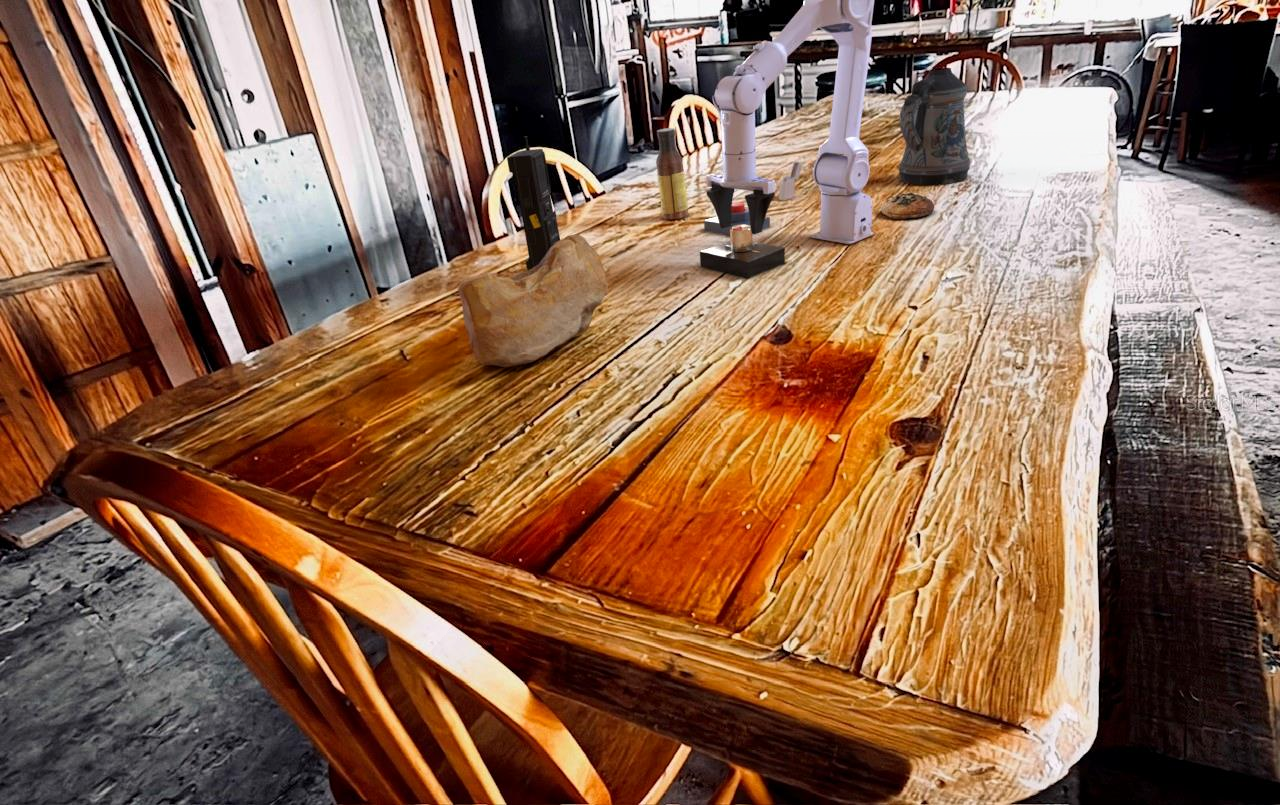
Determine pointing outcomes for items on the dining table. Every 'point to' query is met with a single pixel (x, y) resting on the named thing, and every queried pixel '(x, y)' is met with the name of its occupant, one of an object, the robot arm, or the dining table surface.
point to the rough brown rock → (534, 305)
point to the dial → (741, 238)
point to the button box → (732, 222)
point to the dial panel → (742, 259)
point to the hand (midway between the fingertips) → (740, 229)
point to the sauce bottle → (671, 177)
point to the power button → (738, 207)
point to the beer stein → (934, 131)
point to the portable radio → (534, 202)
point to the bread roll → (907, 206)
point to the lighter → (789, 182)
